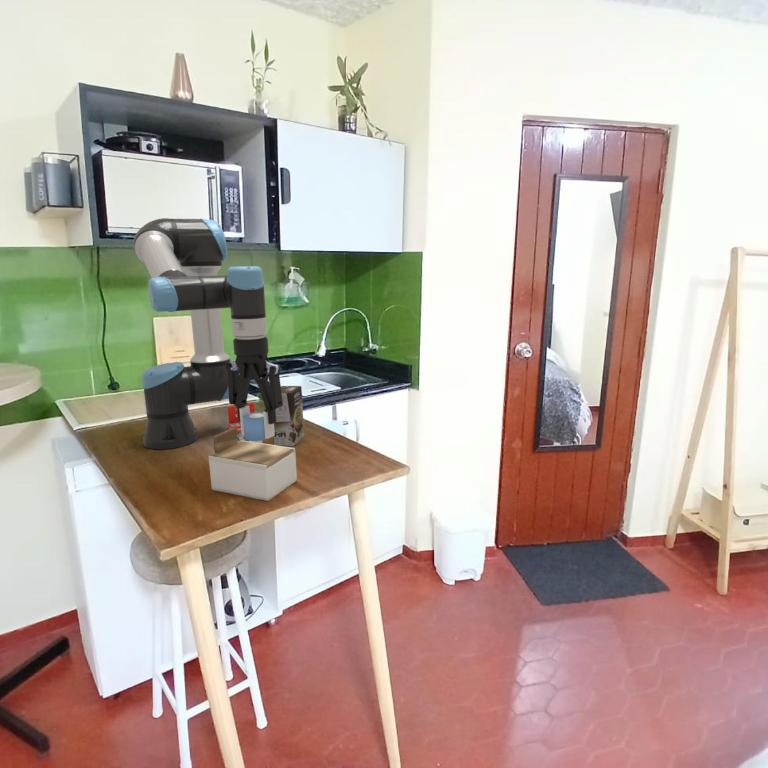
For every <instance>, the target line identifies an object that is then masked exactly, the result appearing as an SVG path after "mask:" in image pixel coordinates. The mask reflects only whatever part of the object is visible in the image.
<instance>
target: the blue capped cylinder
mask: <svg viewBox="0 0 768 768" xmlns="http://www.w3.org/2000/svg"><path fill="white" fill-rule="evenodd" d="M243 423H244V437H245V439H246V440H249V441H260V440H262V441H265V440H266V439H265V430H264V417H263V412H255V413H250V414H247V415H245V416H243Z"/></svg>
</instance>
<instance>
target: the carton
mask: <svg viewBox="0 0 768 768" xmlns="http://www.w3.org/2000/svg"><path fill="white" fill-rule="evenodd" d="M241 441H243V440H241ZM243 442H250V441H243ZM250 443H256V442H250ZM257 444H263V445H270V446H277V447H284V448H291V449H292V452H291V453H289V454H288V455H286V456H285V457H283V458H281V459H280V460H278V461H276V462H275V463H273V464H271V465H270V466H268V467H267V465H262V464H256V463H250V462H244V461H238V460H232V459H226V458H220V457H214V456H210V455H209V456H208V464H209V473H210V475H209V476H210V486H211V491H216V492H219V493H220V492H221V493H224V494H225V493H226V494H232V495H236V496H241V497H246V498H251V499H255V500H260V501H265V502H269V501H270V500H271V499H273V498H274V497H275V496H277V495H278V494H280V493H281V492H283V491H284V490H286V489H287V488H288V487H289V486H291V485H293V484H294V483H296V482H297V481H298V476H297V457H296V448H295V447H291V446H283V445H274V444H268V443H263V442H262V443H257Z"/></svg>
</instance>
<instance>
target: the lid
mask: <svg viewBox="0 0 768 768" xmlns="http://www.w3.org/2000/svg"><path fill="white" fill-rule="evenodd" d="M212 438H213V439H212V440H213V441H212V442H213V449H214V450H213V451H214V452H212V453H211V454H209V456H214V457H220V458H226V459H232V460H238V461H244V462H250V463H256V464H262V465H267V467H268V466H270V465H271V464H273V463H275V462H276V461H278V460H280V459H281V458H283V457H285V456H286V455H288V454H289V453H291V452H292V449H291V448H292V447H290V448H284V447H285V446H284V447H277V446H278V445H277V446H270V445H271V444H270V445H263V444H264V443H263V444H257V443H250V442H243V441H238V440H237V428H231V429H229V428H228V429H227V430H224V431H223V432H220V433H218V434H216V435H213V436H212Z"/></svg>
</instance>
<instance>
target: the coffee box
mask: <svg viewBox="0 0 768 768" xmlns="http://www.w3.org/2000/svg"><path fill="white" fill-rule="evenodd" d="M281 393H282V401H283V406H281V407H279V408H277V409H276V423H274V431H275V435H274V436H273V442H274V443H273V445H277V446H284V447H294V446H295V445H297V444H298V443H299V442H300V441H301V440H302V439H303V438H304V437H305V426H304V410H303V394H302V393H303V392H302V386H301V385H282V386H281Z"/></svg>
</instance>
